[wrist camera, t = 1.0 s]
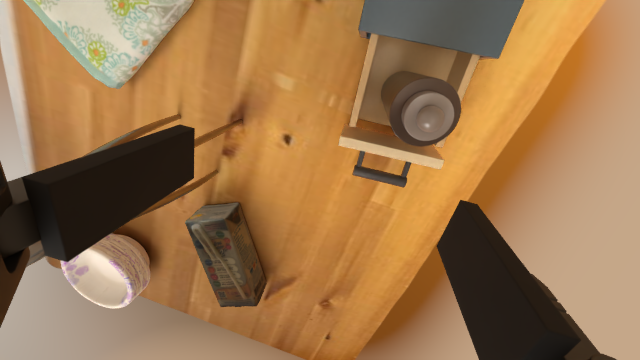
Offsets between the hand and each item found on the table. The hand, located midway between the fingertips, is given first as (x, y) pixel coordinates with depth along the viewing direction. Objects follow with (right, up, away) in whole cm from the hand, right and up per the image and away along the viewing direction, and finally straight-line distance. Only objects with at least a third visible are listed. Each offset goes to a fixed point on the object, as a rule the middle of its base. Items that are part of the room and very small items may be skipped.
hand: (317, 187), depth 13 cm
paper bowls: (-41, -15, +44) cm, 62 cm away
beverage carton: (-16, -12, +39) cm, 43 cm away
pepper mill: (+11, +11, +21) cm, 26 cm away
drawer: (+10, +11, +22) cm, 27 cm away
